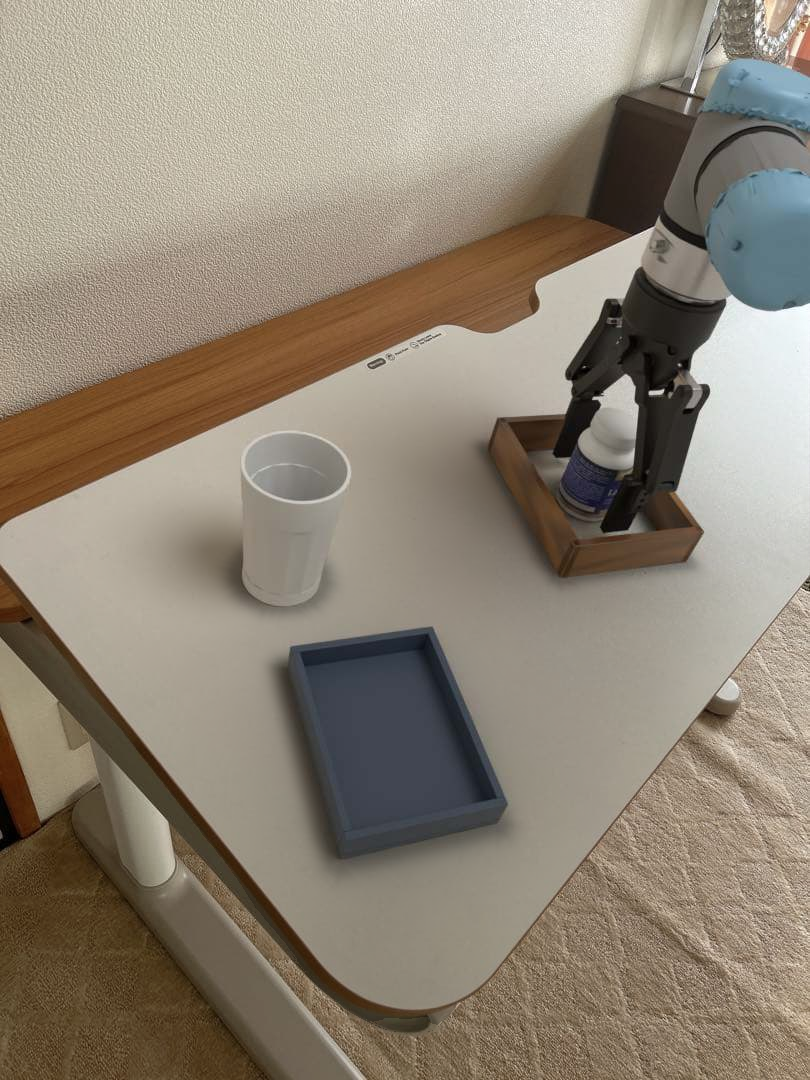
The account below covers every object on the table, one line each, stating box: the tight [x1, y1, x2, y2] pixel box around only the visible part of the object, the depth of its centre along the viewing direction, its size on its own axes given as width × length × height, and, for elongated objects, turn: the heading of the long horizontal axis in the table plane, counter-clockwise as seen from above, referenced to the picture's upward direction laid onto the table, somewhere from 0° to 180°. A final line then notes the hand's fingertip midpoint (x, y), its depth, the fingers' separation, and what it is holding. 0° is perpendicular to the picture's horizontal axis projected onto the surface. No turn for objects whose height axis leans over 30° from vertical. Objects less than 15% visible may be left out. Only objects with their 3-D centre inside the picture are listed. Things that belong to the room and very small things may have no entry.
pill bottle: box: [555, 407, 638, 522], centre depth 82 cm, size 6×6×10 cm
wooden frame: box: [486, 413, 705, 578], centre depth 85 cm, size 18×14×4 cm
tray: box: [286, 626, 509, 860], centre depth 62 cm, size 15×11×3 cm
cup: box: [239, 430, 352, 607], centre depth 68 cm, size 8×8×12 cm
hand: (588, 490), depth 85 cm, fingers open, 10 cm apart
